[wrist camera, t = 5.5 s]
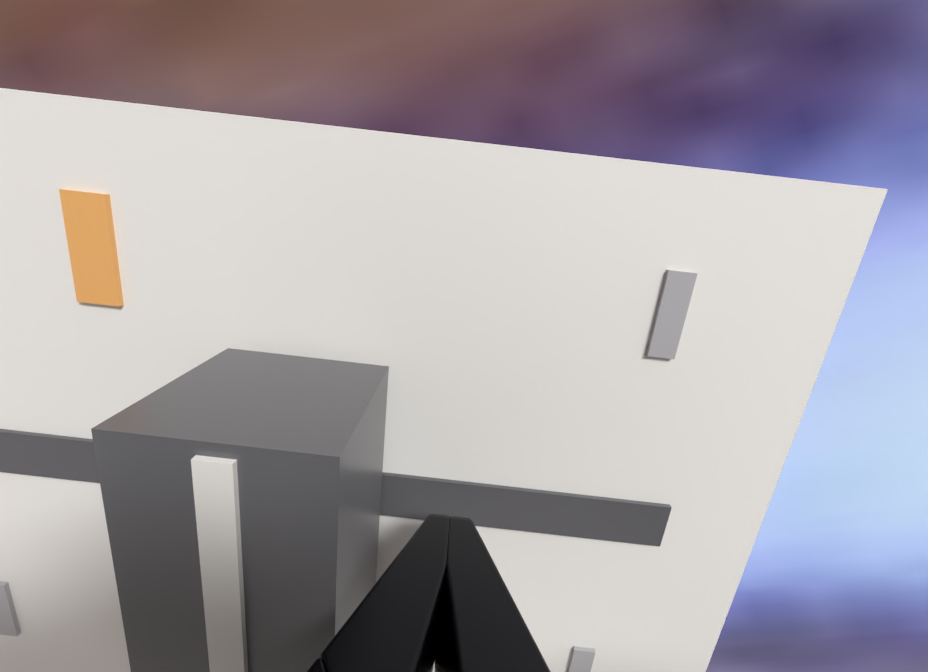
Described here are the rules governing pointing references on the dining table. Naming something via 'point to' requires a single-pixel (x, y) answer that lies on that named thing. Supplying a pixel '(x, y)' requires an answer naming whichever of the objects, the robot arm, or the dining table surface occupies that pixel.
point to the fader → (244, 510)
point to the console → (420, 350)
